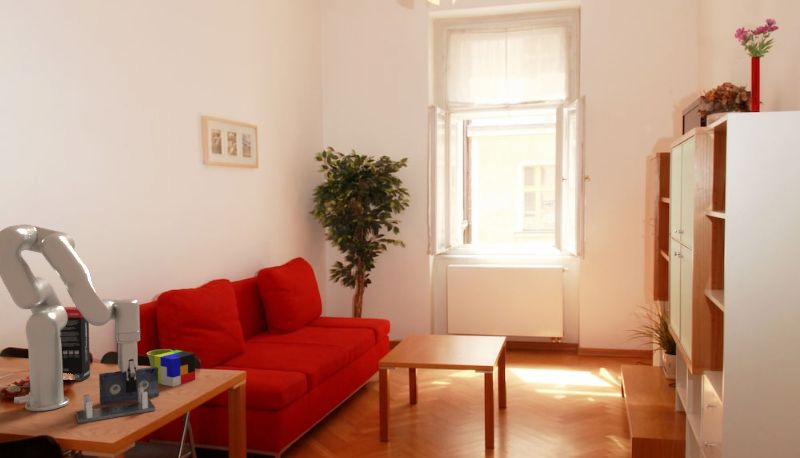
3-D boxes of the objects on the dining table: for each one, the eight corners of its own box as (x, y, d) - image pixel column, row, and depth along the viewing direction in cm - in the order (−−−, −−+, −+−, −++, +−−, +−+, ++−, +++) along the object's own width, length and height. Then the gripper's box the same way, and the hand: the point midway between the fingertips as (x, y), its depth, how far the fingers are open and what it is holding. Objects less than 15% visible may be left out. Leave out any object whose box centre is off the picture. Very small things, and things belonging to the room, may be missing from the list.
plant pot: (141, 376, 248) (141, 353, 248) (159, 370, 257) (159, 348, 256) (161, 378, 245) (160, 355, 244) (178, 372, 253) (178, 350, 253)
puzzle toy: (173, 386, 235) (172, 359, 234) (155, 382, 240) (154, 355, 240) (195, 380, 243) (194, 353, 243) (177, 376, 249) (176, 350, 248)
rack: (79, 423, 197) (78, 404, 197) (75, 415, 205) (75, 396, 205) (155, 410, 209) (154, 392, 209) (149, 402, 217) (149, 385, 216)
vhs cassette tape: (157, 394, 226) (157, 366, 226) (159, 396, 224) (158, 367, 223) (99, 403, 217) (98, 373, 217) (100, 405, 215) (99, 375, 214)
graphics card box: (92, 376, 248) (89, 305, 247) (83, 381, 241) (81, 308, 240) (46, 377, 248) (43, 305, 246) (36, 382, 241) (33, 309, 239)
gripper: (112, 333, 225) (113, 384, 226) (120, 342, 210) (121, 398, 211) (135, 330, 228) (136, 381, 229) (144, 340, 214) (146, 394, 215)
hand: (129, 388), depth 220 cm, fingers open, 6 cm apart
